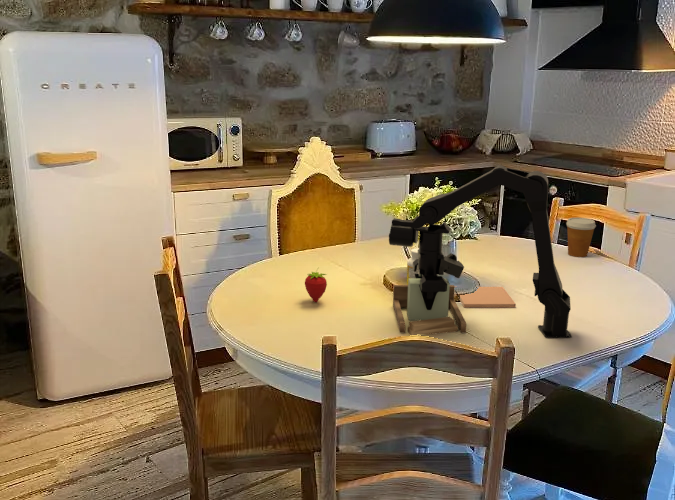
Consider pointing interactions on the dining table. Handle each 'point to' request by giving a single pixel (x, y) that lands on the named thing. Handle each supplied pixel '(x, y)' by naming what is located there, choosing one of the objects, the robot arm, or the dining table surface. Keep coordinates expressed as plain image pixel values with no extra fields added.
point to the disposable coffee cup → (579, 236)
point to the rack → (401, 302)
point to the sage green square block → (417, 304)
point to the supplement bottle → (410, 264)
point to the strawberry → (315, 285)
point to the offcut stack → (432, 326)
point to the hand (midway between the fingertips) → (427, 306)
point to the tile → (488, 298)
